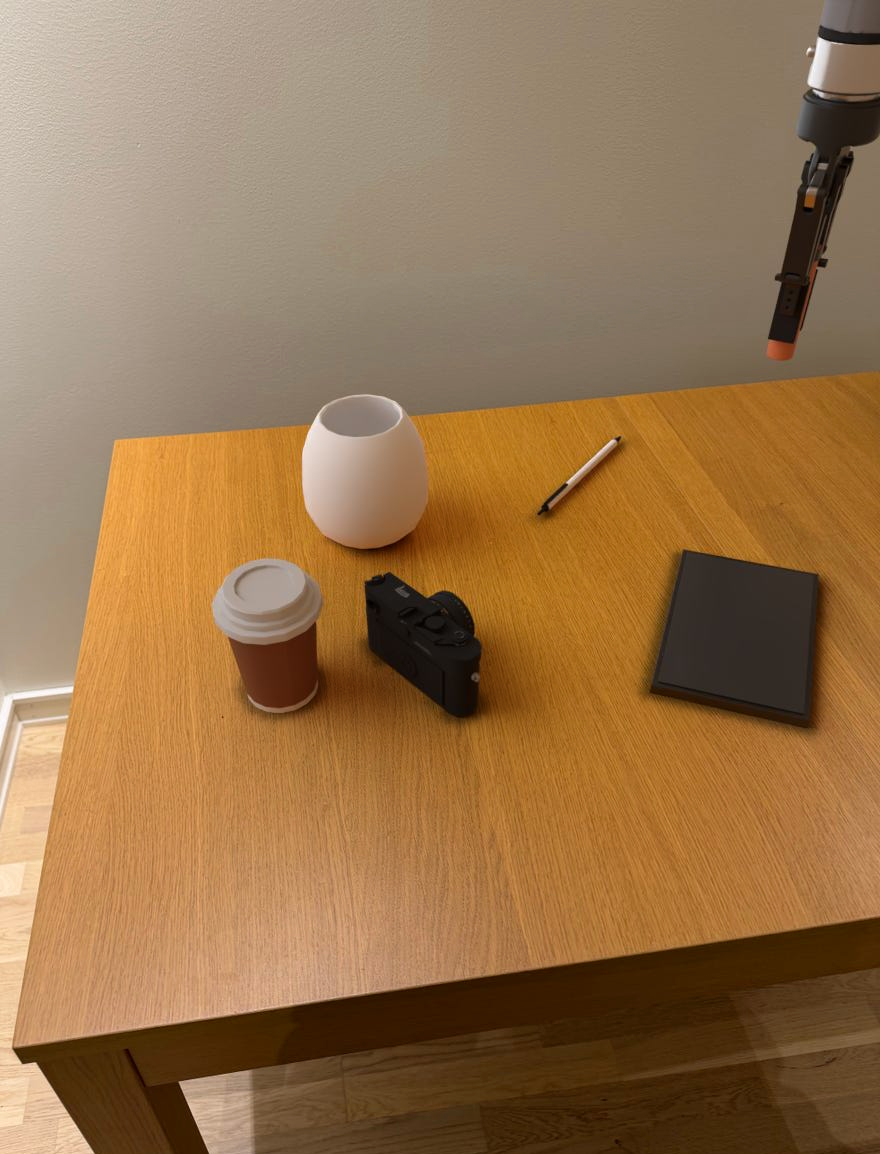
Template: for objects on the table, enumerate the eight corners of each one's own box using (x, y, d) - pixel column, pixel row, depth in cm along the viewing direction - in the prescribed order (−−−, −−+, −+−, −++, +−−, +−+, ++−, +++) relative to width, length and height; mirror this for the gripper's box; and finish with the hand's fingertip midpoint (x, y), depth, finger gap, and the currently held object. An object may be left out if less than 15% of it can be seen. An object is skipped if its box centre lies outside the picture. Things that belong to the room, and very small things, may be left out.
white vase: (284, 521, 101) (268, 411, 91) (381, 477, 106) (375, 369, 97) (354, 581, 93) (344, 467, 84) (454, 530, 98) (455, 418, 89)
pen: (534, 516, 100) (535, 507, 99) (617, 438, 110) (618, 430, 110) (542, 518, 99) (542, 510, 98) (624, 440, 110) (625, 432, 109)
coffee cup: (348, 663, 84) (337, 560, 76) (308, 735, 78) (291, 632, 70) (259, 642, 87) (239, 540, 78) (213, 710, 81) (186, 608, 72)
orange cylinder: (798, 356, 102) (828, 246, 94) (779, 363, 101) (808, 253, 93) (779, 346, 104) (806, 238, 96) (760, 353, 103) (786, 244, 95)
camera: (519, 688, 81) (525, 621, 76) (461, 730, 78) (462, 663, 73) (412, 609, 89) (410, 544, 84) (355, 645, 86) (349, 579, 81)
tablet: (681, 556, 94) (683, 548, 93) (816, 581, 90) (819, 573, 90) (649, 692, 80) (651, 683, 80) (806, 728, 77) (810, 719, 76)
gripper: (824, 67, 91) (768, 300, 107) (784, 108, 81) (730, 357, 97) (905, 73, 88) (836, 311, 104) (874, 116, 78) (803, 371, 95)
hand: (785, 333), depth 101 cm, fingers closed on orange cylinder, 3 cm apart
